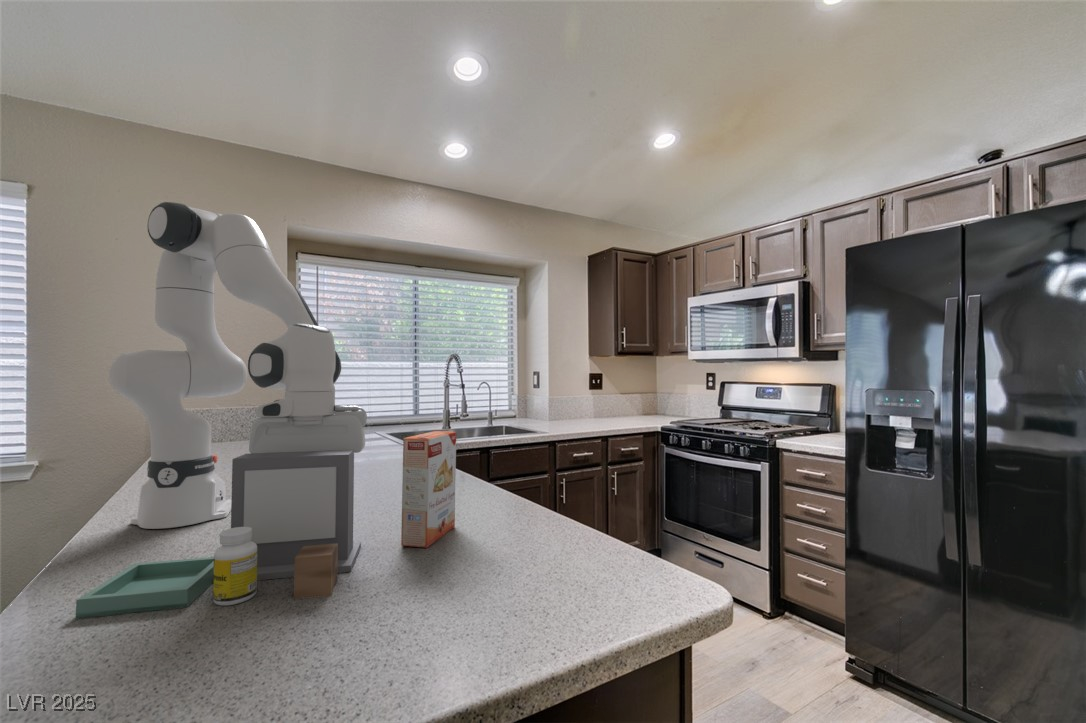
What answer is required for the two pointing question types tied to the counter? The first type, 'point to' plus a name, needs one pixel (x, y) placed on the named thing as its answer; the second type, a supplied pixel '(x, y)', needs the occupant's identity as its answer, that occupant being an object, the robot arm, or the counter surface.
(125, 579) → the tray
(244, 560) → the supplement bottle
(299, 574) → the walnut block
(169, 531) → the counter surface
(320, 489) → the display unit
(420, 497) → the cracker box
